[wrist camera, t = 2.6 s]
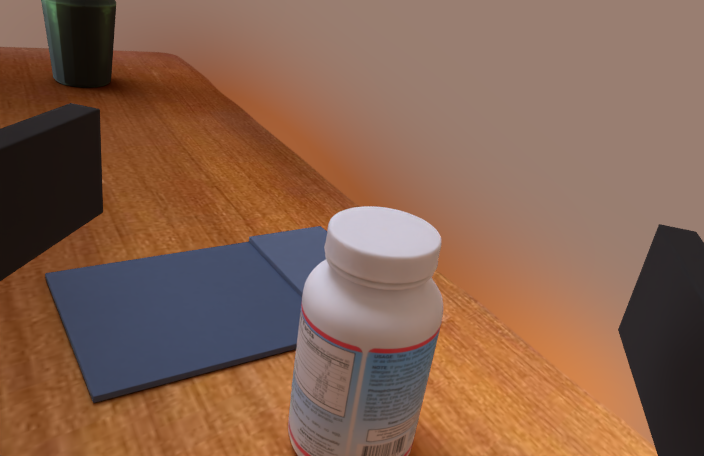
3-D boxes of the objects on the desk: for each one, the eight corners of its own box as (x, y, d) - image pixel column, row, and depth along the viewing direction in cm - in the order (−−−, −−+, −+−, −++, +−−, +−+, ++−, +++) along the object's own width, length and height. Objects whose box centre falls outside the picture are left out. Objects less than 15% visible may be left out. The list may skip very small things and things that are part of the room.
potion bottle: (111, 72, 83) (107, -79, 75) (124, 90, 77) (122, -73, 69) (42, 71, 79) (31, -89, 71) (50, 89, 72) (39, -84, 65)
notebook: (45, 278, 39) (44, 267, 38) (324, 234, 49) (326, 225, 49) (93, 403, 30) (92, 390, 30) (419, 316, 41) (421, 306, 40)
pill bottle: (406, 402, 33) (452, 209, 28) (413, 497, 28) (471, 277, 23) (292, 387, 33) (318, 189, 28) (276, 479, 27) (304, 253, 23)
